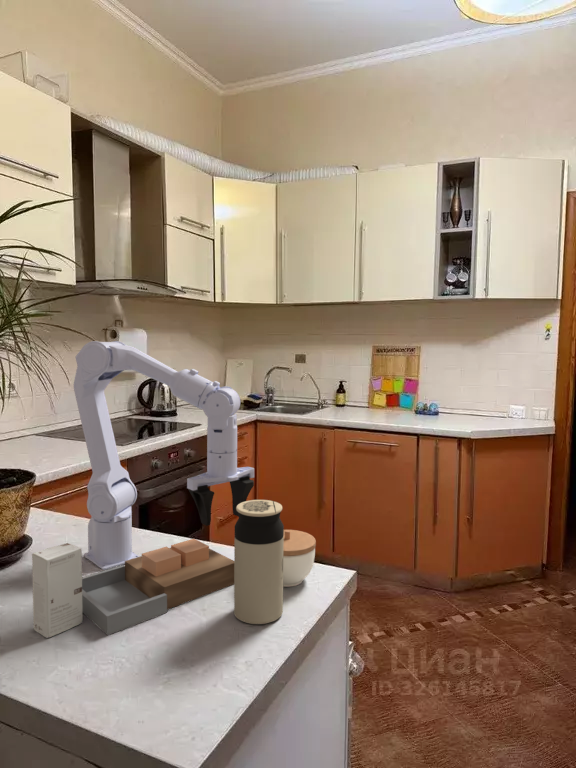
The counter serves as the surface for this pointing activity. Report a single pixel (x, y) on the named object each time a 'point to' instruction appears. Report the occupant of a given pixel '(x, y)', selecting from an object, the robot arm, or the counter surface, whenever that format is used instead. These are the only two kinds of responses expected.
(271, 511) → the travel mug
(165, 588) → the dark wood platform
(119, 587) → the tray
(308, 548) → the lidded jar
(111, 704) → the counter surface
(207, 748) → the counter surface
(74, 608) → the skincare box
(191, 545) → the tile rear
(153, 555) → the tile front
